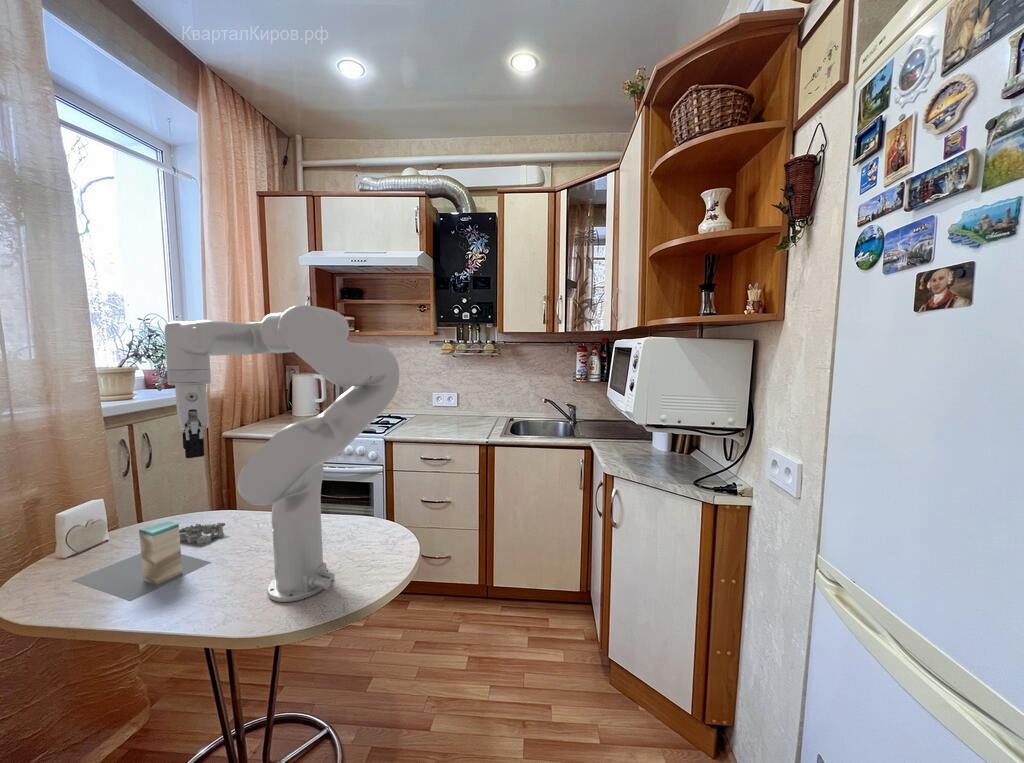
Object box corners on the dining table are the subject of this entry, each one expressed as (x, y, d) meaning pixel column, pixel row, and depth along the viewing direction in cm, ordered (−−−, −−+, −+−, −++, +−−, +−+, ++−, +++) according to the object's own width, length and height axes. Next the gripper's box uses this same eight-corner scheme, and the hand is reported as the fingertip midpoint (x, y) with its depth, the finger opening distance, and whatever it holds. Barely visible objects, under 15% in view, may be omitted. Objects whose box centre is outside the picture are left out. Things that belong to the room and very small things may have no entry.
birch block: (182, 572, 93) (178, 523, 92) (157, 584, 88) (152, 532, 87) (168, 568, 94) (164, 520, 93) (143, 580, 90) (138, 529, 89)
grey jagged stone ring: (228, 536, 113) (227, 522, 112) (200, 549, 106) (199, 534, 105) (201, 531, 116) (200, 517, 116) (172, 543, 109) (171, 528, 108)
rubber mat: (211, 564, 97) (211, 562, 97) (130, 603, 82) (130, 601, 82) (155, 549, 105) (155, 547, 105) (72, 582, 90) (72, 580, 90)
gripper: (214, 379, 84) (218, 457, 86) (207, 374, 97) (210, 442, 99) (168, 381, 79) (172, 464, 81) (166, 375, 92) (170, 447, 94)
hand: (193, 452), depth 90 cm, fingers open, 9 cm apart
